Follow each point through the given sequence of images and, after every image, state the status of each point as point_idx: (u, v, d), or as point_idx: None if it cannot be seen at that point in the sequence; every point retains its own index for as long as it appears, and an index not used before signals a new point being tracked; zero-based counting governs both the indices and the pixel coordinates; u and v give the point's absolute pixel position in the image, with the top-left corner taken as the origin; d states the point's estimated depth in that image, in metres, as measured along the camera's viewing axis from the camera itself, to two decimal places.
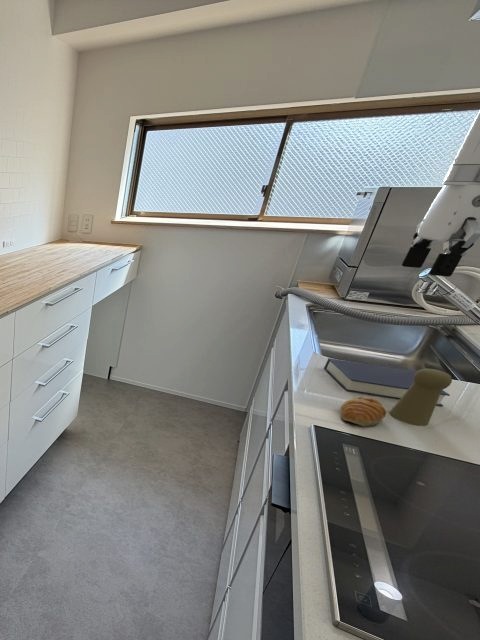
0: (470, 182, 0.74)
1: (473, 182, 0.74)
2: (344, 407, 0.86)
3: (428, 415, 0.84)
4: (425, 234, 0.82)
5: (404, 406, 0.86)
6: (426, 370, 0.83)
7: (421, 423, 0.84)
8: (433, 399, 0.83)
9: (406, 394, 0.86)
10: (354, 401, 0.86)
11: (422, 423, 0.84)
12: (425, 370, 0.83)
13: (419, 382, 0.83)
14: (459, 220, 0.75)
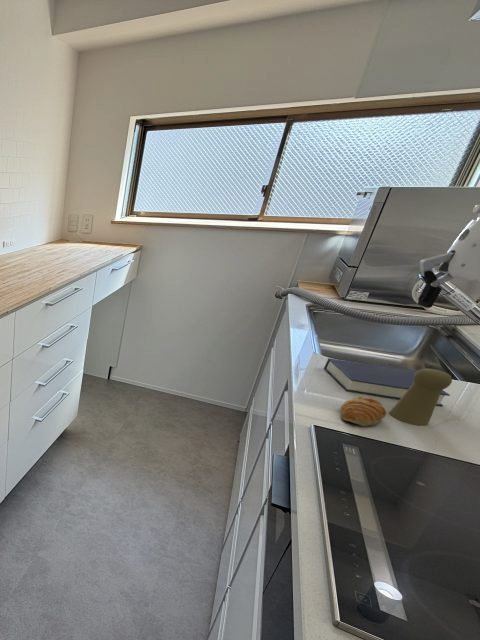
0: None
1: None
2: (344, 407, 0.86)
3: (428, 415, 0.84)
4: None
5: (404, 406, 0.86)
6: (426, 370, 0.83)
7: (421, 423, 0.84)
8: (433, 399, 0.83)
9: (406, 394, 0.86)
10: (354, 401, 0.86)
11: (422, 423, 0.84)
12: (425, 370, 0.83)
13: (419, 382, 0.83)
14: (447, 253, 0.77)
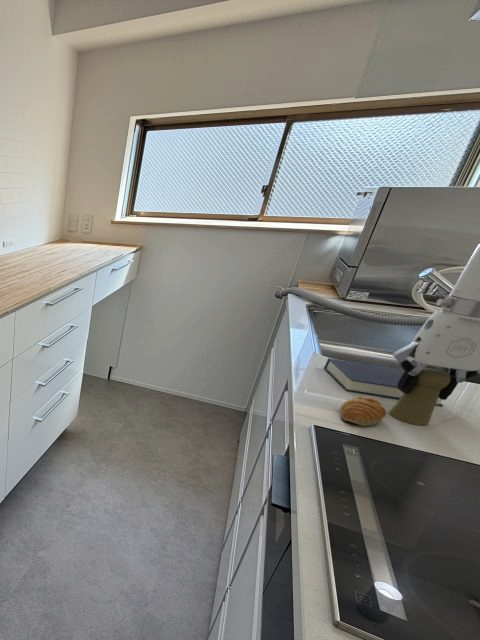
0: (441, 308, 0.80)
1: (441, 308, 0.79)
2: (344, 407, 0.86)
3: (428, 414, 0.84)
4: None
5: (403, 406, 0.86)
6: (424, 370, 0.83)
7: (421, 423, 0.84)
8: (432, 399, 0.83)
9: (405, 394, 0.86)
10: (354, 401, 0.86)
11: (423, 422, 0.84)
12: (423, 370, 0.83)
13: (418, 382, 0.83)
14: (414, 338, 0.83)
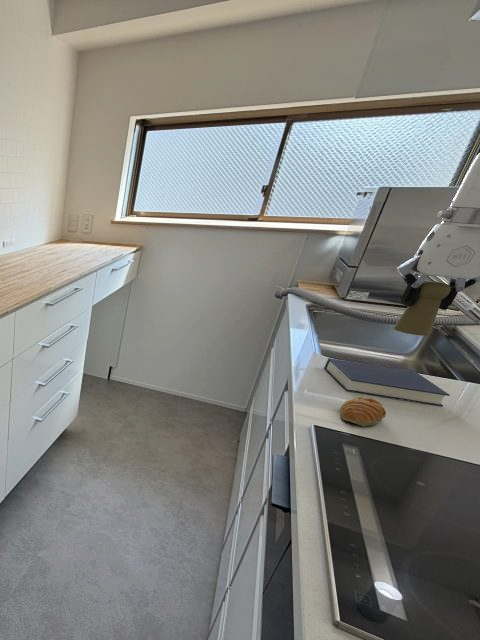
0: None
1: (442, 221, 0.85)
2: (344, 407, 0.86)
3: (430, 325, 0.89)
4: None
5: (406, 319, 0.91)
6: (426, 282, 0.88)
7: (423, 333, 0.90)
8: (433, 309, 0.88)
9: (408, 308, 0.91)
10: (354, 401, 0.86)
11: (425, 333, 0.90)
12: (425, 282, 0.89)
13: (420, 294, 0.89)
14: (417, 252, 0.88)
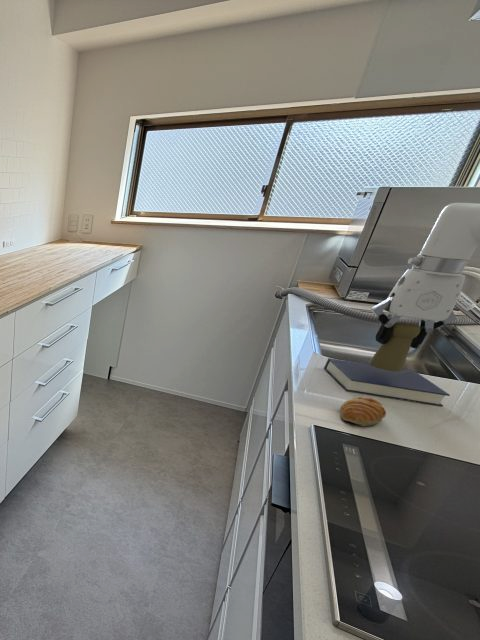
0: None
1: (412, 267, 0.91)
2: (344, 407, 0.86)
3: (402, 362, 0.95)
4: None
5: (380, 355, 0.97)
6: (398, 322, 0.95)
7: (396, 369, 0.96)
8: (405, 348, 0.94)
9: (382, 345, 0.98)
10: (354, 401, 0.86)
11: (397, 369, 0.96)
12: (397, 322, 0.95)
13: (393, 333, 0.95)
14: (389, 294, 0.94)
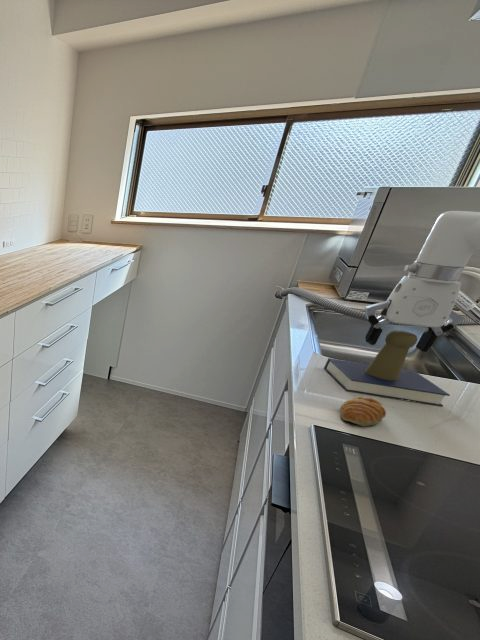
0: None
1: None
2: (344, 407, 0.86)
3: (398, 370, 0.96)
4: None
5: (377, 364, 0.98)
6: (395, 331, 0.95)
7: (391, 378, 0.97)
8: (401, 357, 0.95)
9: (379, 353, 0.98)
10: (354, 401, 0.86)
11: (393, 378, 0.97)
12: (394, 331, 0.96)
13: (390, 342, 0.96)
14: (386, 301, 0.95)
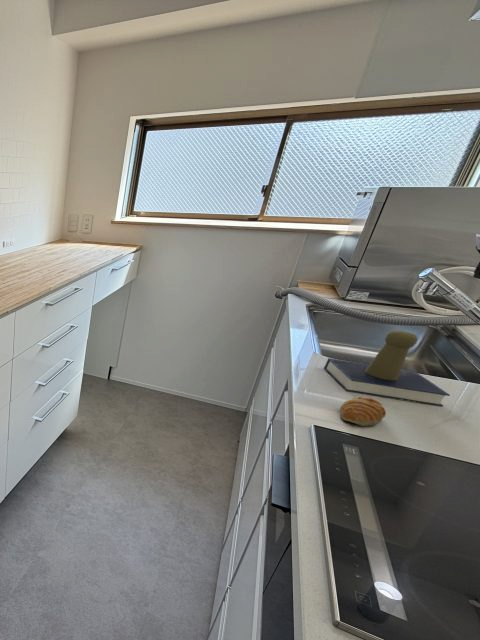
0: None
1: None
2: (344, 407, 0.86)
3: (398, 370, 0.96)
4: None
5: (377, 364, 0.98)
6: (395, 331, 0.95)
7: (391, 378, 0.97)
8: (401, 357, 0.95)
9: (379, 353, 0.98)
10: (354, 401, 0.86)
11: (393, 378, 0.97)
12: (394, 331, 0.96)
13: (390, 342, 0.96)
14: None
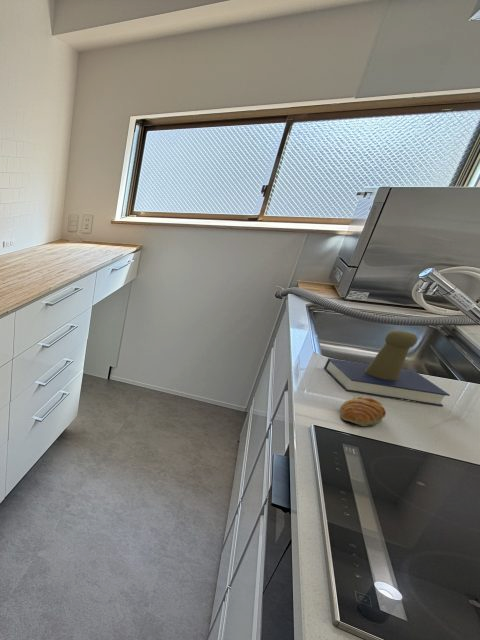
0: None
1: None
2: (344, 407, 0.86)
3: (398, 370, 0.96)
4: None
5: (377, 364, 0.98)
6: (395, 331, 0.95)
7: (391, 378, 0.97)
8: (401, 357, 0.95)
9: (379, 353, 0.98)
10: (354, 401, 0.86)
11: (393, 378, 0.97)
12: (394, 331, 0.96)
13: (390, 342, 0.96)
14: None
